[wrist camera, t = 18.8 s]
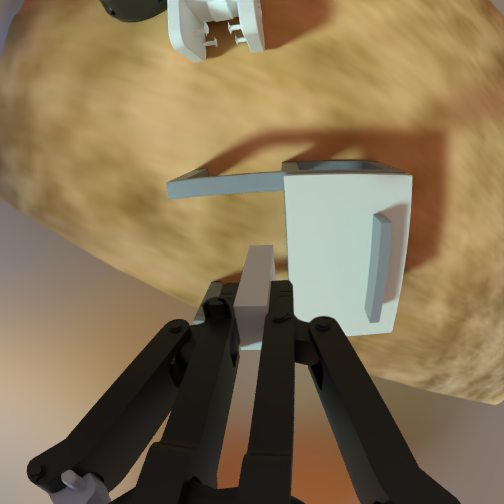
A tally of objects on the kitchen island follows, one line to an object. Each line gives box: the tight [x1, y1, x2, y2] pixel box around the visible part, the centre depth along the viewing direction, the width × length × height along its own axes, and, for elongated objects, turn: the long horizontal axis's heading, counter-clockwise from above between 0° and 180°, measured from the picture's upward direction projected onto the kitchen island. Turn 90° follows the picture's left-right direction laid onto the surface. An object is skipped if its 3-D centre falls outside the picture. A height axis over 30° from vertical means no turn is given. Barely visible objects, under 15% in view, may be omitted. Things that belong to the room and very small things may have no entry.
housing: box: [166, 161, 405, 325], centre depth 38 cm, size 21×27×11 cm
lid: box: [284, 173, 412, 336], centre depth 30 cm, size 21×14×4 cm
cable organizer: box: [167, 0, 265, 63], centre depth 26 cm, size 15×11×12 cm
